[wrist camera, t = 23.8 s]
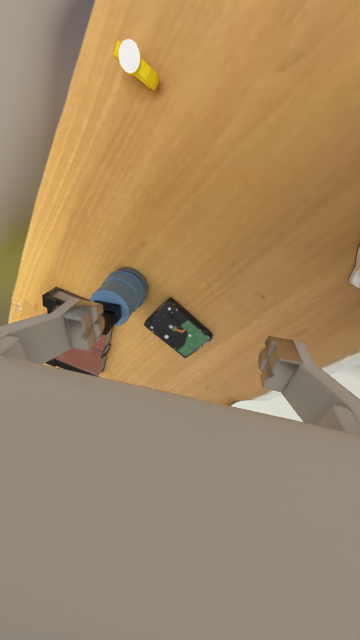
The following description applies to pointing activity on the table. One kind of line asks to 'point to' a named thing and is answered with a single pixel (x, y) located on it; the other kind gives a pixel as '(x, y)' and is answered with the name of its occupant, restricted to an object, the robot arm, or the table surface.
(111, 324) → the clip
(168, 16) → the table surface
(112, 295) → the cup stack
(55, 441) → the robot arm
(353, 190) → the table surface
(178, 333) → the disk drive
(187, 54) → the table surface
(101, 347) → the book
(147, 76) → the watch
